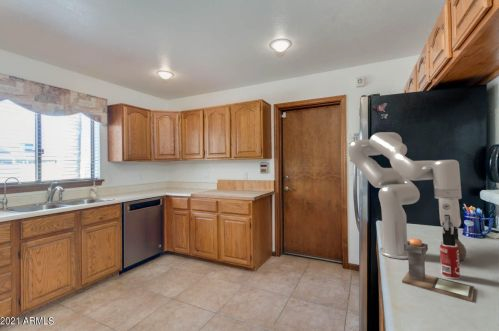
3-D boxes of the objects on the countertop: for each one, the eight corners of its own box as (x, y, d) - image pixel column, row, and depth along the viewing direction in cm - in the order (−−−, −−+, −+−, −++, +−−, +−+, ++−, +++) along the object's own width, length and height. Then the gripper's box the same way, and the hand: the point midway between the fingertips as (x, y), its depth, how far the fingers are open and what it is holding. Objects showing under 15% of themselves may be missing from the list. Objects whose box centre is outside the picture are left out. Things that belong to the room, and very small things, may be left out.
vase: (440, 256, 105) (440, 236, 105) (457, 255, 105) (456, 235, 105) (453, 262, 98) (452, 241, 98) (471, 261, 98) (470, 240, 98)
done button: (408, 246, 85) (408, 240, 85) (411, 243, 87) (410, 237, 87) (420, 248, 82) (420, 242, 82) (423, 245, 85) (422, 239, 85)
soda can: (451, 272, 89) (449, 240, 89) (464, 279, 84) (462, 245, 84) (437, 273, 89) (436, 241, 89) (449, 280, 84) (448, 245, 84)
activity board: (402, 282, 84) (400, 245, 84) (409, 272, 91) (407, 238, 91) (472, 302, 71) (470, 258, 71) (474, 288, 78) (472, 249, 78)
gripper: (458, 197, 78) (462, 250, 77) (463, 192, 90) (467, 238, 89) (430, 196, 83) (433, 245, 83) (438, 191, 95) (441, 235, 95)
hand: (451, 241), depth 86 cm, fingers open, 9 cm apart
